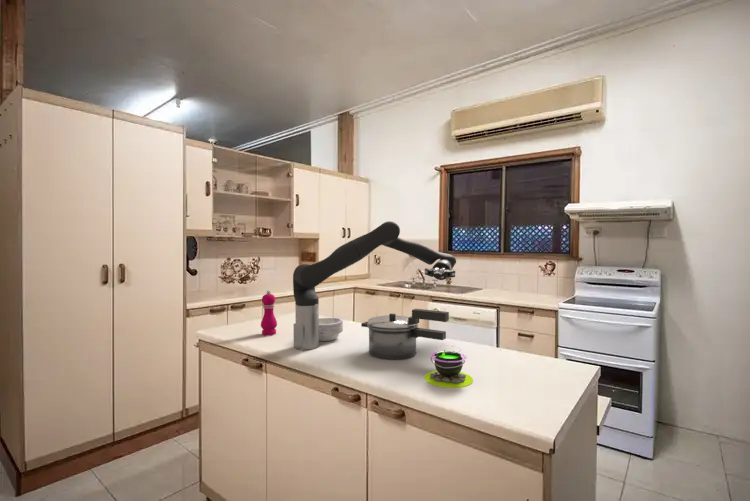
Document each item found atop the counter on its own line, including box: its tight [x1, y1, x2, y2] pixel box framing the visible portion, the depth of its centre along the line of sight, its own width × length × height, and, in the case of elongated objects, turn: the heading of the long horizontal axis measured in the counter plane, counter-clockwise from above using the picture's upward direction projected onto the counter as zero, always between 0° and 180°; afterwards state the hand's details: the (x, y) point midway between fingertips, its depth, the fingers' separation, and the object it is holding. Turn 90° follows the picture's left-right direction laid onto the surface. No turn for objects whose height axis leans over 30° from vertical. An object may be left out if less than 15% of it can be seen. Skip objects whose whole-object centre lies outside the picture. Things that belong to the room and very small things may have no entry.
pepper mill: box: [260, 290, 278, 336], centre depth 178 cm, size 7×7×20 cm
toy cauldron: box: [424, 341, 474, 389], centre depth 121 cm, size 15×15×11 cm
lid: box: [367, 308, 450, 329], centre depth 145 cm, size 31×19×6 cm, turn 58°
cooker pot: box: [360, 321, 447, 361], centre depth 147 cm, size 34×19×11 cm, turn 58°
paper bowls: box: [319, 317, 344, 342], centre depth 170 cm, size 15×15×8 cm
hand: (437, 276), depth 149 cm, fingers closed
